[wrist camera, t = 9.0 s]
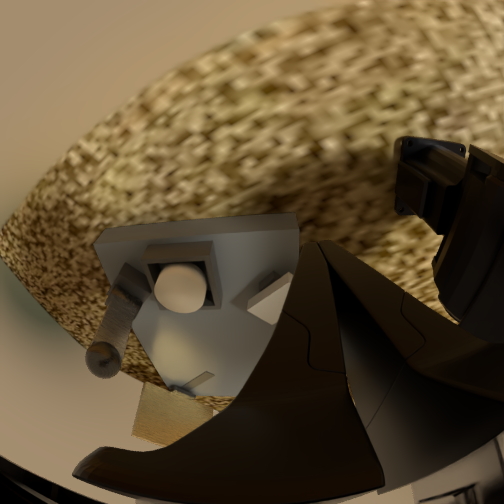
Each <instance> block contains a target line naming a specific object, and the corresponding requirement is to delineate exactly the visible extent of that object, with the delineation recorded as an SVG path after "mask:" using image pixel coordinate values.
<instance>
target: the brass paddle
mask: <svg viewBox="0 0 504 504" xmlns="http://www.w3.org/2000/svg"><path fill="white" fill-rule="evenodd" d="M195 396H196V394H193V393H191V392H188V391H186V390H184V389H181V388H179V387H177V386H175V387H173V388H172V389H170V390H168V391H167V390H165V389H163V388H160V387H158V386H156V385H154V384H152V383H149V382H147V381H146V382H145V383H144V385H143V388H142V392H141V396H140V400H139V405H138V409H137V412H136V417H135V421H134V425H133V430H132V434H131V436H134V437H136V438H139V439H142V440H145V441H147V442H150V443H153V444H156V445H159V446H162V447H166V446H168V445H170V444H172V443H174V442H175V441H177V440H179V439H180V438H182V437H183V436H185V435H187V434H188V433H190V432H191V431H193V430H194V429H196V428H197V427H199V426H200V425H202V424H203V423H205V422H206V421H208V420H209V419H211V418H212V417H213V408H210V407H208V406H205V405H202V404H200V403H197V402H194V401H192V400H193V399H195Z"/></svg>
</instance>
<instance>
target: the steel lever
mask: <svg viewBox="0 0 504 504" xmlns="http://www.w3.org/2000/svg"><path fill="white" fill-rule="evenodd" d="M142 304H143V301H141V300H139V299H138V298H136V297H135V296H133V295H131V294H130V293H128V292H127V291H125V290H123V289H122V288H120V287H119V286H117V285H116V284H115V286H114V287H113V289H112V291H111V293H110V294H109V296H108V298H107V300H106V302H105V305H107V306H108V307H107V309H106V311H105V313H104V315H103V317H102V320H101V322H100V324H99V326H98V329H97V331H96V333H95V336H94V338H93V340H92V343H91V345H90V347H89V348H88V350H87V352H86V356H85V358H86V365H87V367H88V369H89V370H90V372H91V373H92V374H94V375H95V376H97V377H99V378H103V379H106V378H111V377H113V376H115V375H116V374H117V373H118V372H119V370H120V368H121V360H122V358H123V357H124V352H125V349H126V345H127V341H128V337H129V333H130V330H131V326H132V322H133V321H134V319H135V318H136V316H137V315H138V313H139V311H140V309H141V307H142Z"/></svg>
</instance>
